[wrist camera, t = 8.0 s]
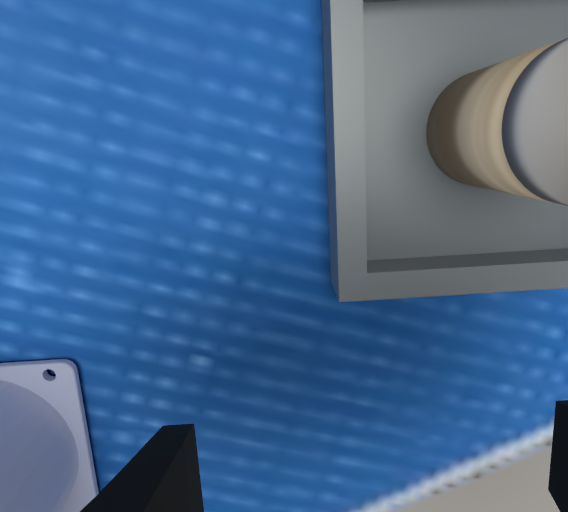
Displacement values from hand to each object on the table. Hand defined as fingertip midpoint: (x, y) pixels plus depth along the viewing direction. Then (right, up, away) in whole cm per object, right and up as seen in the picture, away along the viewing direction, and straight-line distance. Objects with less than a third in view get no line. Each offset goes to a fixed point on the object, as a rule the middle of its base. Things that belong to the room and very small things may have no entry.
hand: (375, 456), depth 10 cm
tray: (+5, +9, +9) cm, 13 cm away
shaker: (+5, +9, +8) cm, 13 cm away
